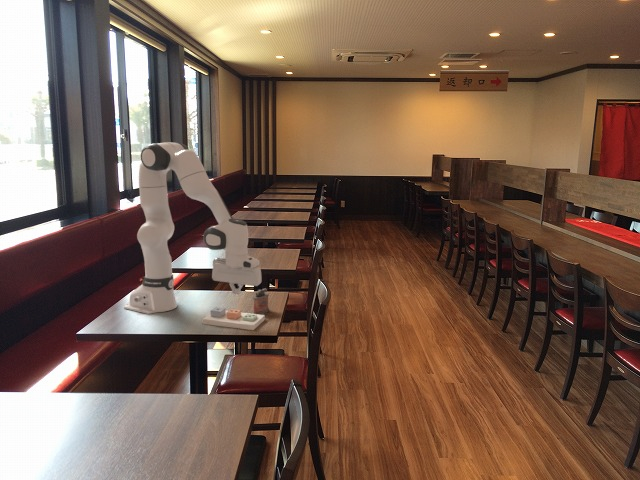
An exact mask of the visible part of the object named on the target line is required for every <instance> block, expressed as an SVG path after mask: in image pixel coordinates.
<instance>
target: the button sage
mask: <svg viewBox="0 0 640 480" xmlns="http://www.w3.org/2000/svg"><path fill="white" fill-rule="evenodd" d="M253 314H254V313H251V314H246V315H245V316H244V317H243V321H250V322H254V321H255V320H256V319H257V315H253Z"/></svg>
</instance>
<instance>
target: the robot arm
mask: <svg viewBox="0 0 640 480" xmlns="http://www.w3.org/2000/svg"><path fill="white" fill-rule="evenodd" d="M140 160H141V162H140V165H139V169H138V188H139V199H140V200H139V201H140V207H141V208H142V210H143V213H144V216H145V222H144V223H143V224H142V225H141V226H140V228H139V229H138V231H137V234H136V238H137V241H138V243H139V244H140V249H141V250H142V255H143V261H144V272H145V276H142V277H141V278H139V282H141V281H142V282H141V285H139V286H138V287H137V288H135V289H134V290H133V291H132V292H131V293H130V294H129V301H128V302H126V303H125V304H124V306H123V308H124V310H129V311H133V312H138V313H143V314H148V315H150V314H155V313H163V312H167V311H172V310H174V309H176V308H177V307H178V303H177V300H176V296H175V291H174V285H175V284H174V283H175V282H174V274H173V263H172V256H171V254H170V250H169V247H168V241H169V240H170V239H171V238H172V237H173V235H174V233H175V232H174V231H175V224H174V222H173V218H172V214H171V210H170V206H169V205H170V204H169V195H168V183H167V182H168V181H167V174H168V172H169V171H173V172H174V173H175V174H176V176H177V179H178V182H179V185H180V187H181V190H182V191H183V192H184V193H185V195H186V197H189V198H190V199H191V200H196V201H199V202H201V203H204V204H205V205H206V206H207V207H208V208H209V209H210V210H211V212H212V214H213V216H214V217H215V220H216V222H217V223H218V224H216V225H211V226H209V227H208V228H206V229H205V231H204V232H203V236H202V237H203V243H204V245H205V246H206V247H207V248H208V249H209V250H211V251H220V250H223V251H225V258H224V257H223V258H220V257H216V258H214V259H213V260H212V271H211V272H212V273H211V279H212V281H215V282H222V283H229V286H230V289H231V293H232V294H233V295H240V294H241V289H242V288H243V286H244V285H246V286H252V287H253V286H254V287H258V286H260V284H261V283H262V269H261V267H260V266H259V265H260V262H261V261H260V259H257V258H256V257H254V256H251V255H250V254H249V250H248V246H249V245H248V244H249V228H248V224H247V222H246V221H244V220H243V219H240V218H233V216H232V214H231V212H230V210H229V208H228V207H227V205H226V203H225V201H224V199H223V197H222V196H221V194H220V192H219V191H218V189H216V188H215V186H214V185H213V183H212V181H211V180H210V178H209V176H208V174H207V171H206V169H205V167H204V165H203V163H202V162H201V160H200V158H199V156H198V155H197V153H196V152H195V151H194V150H192V149H189V148H188V146H187V145H185V144H184V143H181V142H176V141H175V142H172V141H171V142H170V141H164V142H160V143H159V142H157V143H150V144H147V145H146V146H144V147H143V148H142V149H141V151H140ZM235 284H236V285H237V288H236V285H235Z"/></svg>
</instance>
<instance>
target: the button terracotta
mask: <svg viewBox="0 0 640 480" xmlns="http://www.w3.org/2000/svg"><path fill="white" fill-rule="evenodd" d="M227 311H228V312H226V314H227V319H234V320H237V319H239V318H240V317H241V312H242V309H236V308H235V309H234V308H231V309H229V310H227Z"/></svg>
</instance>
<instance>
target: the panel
mask: <svg viewBox="0 0 640 480" xmlns="http://www.w3.org/2000/svg"><path fill="white" fill-rule="evenodd" d="M228 311H229V310H226V312H228ZM246 314H253V315H257V319H256V320H255V321H254V322H250V321H243V317H244V316H245V315H246ZM265 320H266V316H265V314H260V315H259V314H254V313H249V312H242V311H241V317H240V318H239V319H237V320H234V319H227V314H226V315H224V316H223V317H222V318H218V317H211V312H210V313H209V314H207V315H206V316H204V317H203V318H202V322H201V323H202V324H203V325H208V326H209V325H211V326H217V327H218V326H219V327H223V328H224V327H225V328H234V329H240V330H249V331H254V330H255V329H257V327H259V326H260V325H261V324H262V323H263V322H264V321H265Z"/></svg>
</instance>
